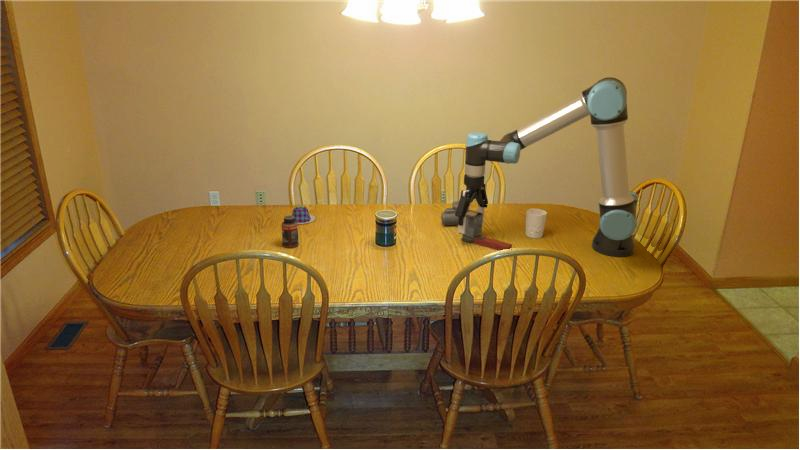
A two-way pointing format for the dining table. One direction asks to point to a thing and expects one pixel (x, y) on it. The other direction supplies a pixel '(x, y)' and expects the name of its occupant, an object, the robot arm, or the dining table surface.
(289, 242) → the supplement bottle
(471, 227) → the dark metal cube
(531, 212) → the white cup
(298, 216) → the purple plaid hat
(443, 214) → the pipe fitting
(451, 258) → the dining table surface
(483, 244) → the ratchet
